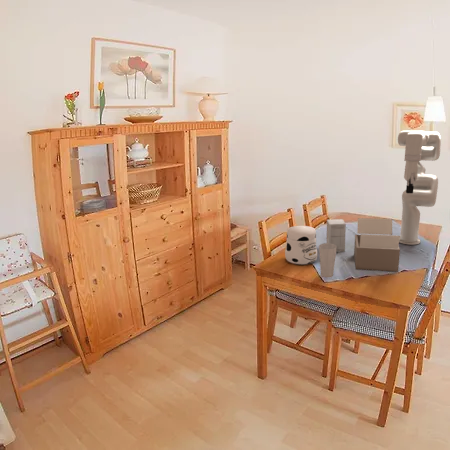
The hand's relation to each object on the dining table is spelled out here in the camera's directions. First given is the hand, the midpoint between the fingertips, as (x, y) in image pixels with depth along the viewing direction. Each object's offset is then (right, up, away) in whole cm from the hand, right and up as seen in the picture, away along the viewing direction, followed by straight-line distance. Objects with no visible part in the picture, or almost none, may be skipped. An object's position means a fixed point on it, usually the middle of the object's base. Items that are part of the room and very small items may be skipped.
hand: (409, 192), depth 203 cm
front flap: (-21, -25, -14) cm, 36 cm away
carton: (-17, -37, +2) cm, 41 cm away
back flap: (-15, -17, +8) cm, 24 cm away
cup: (-45, -42, -9) cm, 63 cm away
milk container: (-55, -37, +9) cm, 67 cm away
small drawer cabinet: (-32, -31, +24) cm, 50 cm away
